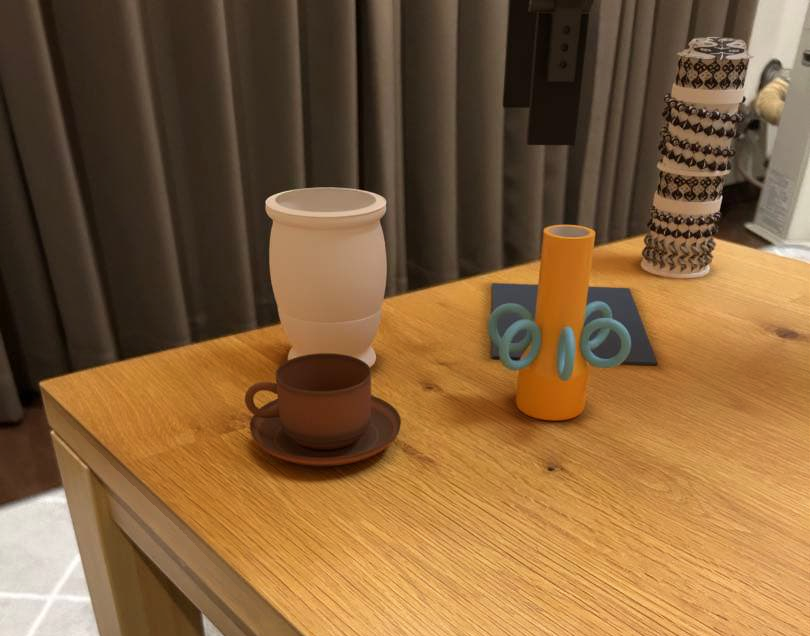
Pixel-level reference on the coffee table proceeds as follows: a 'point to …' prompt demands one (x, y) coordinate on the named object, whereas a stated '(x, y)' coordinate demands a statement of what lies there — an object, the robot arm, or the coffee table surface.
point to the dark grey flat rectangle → (609, 348)
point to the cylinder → (558, 329)
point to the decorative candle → (695, 156)
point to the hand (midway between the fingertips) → (534, 124)
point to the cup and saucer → (322, 412)
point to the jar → (328, 269)
